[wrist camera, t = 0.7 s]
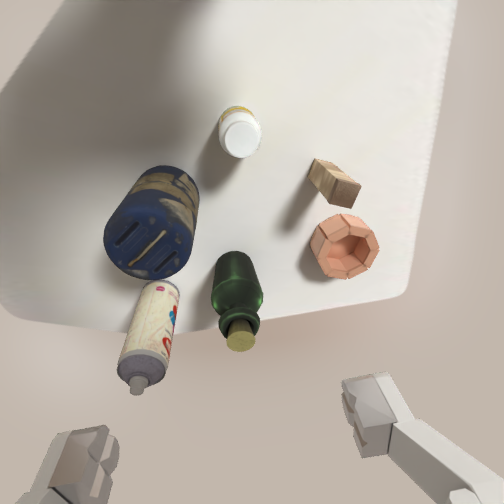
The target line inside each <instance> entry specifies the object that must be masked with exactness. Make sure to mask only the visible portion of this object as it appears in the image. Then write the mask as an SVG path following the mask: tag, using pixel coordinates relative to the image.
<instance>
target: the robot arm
mask: <svg viewBox="0 0 504 504" xmlns="http://www.w3.org/2000/svg"><path fill="white" fill-rule="evenodd" d="M342 388H343V391H344V392H343V393H342V403H343V408H344V411H345V415H346V418H347V420H348V423H349V424H350V425H352V426H353V427H354V436H353V437H354V439H355V442H356V445H357V447H358V450H359V452H360V455H361V457H362V458H366V457H372V456H379V455H385V454H388V456H389V457H390V458H391V459H392V460H393V461H394V462H395V463H396V464H397V465H398V466H399V467H400V468H401V469H402V470H403V471H404V472H405V473H406V474H407V475H408V476H409V477H410V478H411V479H412V480H413V481H415V483H416V484H417V485H418V486H419V487H420V488H421V489H422V490H423V491H424V492H425V493H426V494H427V495H428V496H429V497H430V498H431V499H433V500H434V501H435V502H436V503H437V504H504V479H503V478H501V477H500V476H498V475H497V474H496V473H494V472H493V471H491V470H490V469H489V468H487V467H486V466H485V465H483V464H482V463H480V462H479V461H478V460H476V459H475V458H474V457H472V456H471V455H469V454H468V453H467V452H465V451H464V450H462V449H461V448H459V447H458V446H457V445H455V444H454V443H453V442H451V441H450V440H449V439H447V438H446V437H444V436H443V435H442V434H440V433H439V432H437V431H436V430H435V429H433V428H432V427H430V426H429V425H428V424H426V423H425V422H424V421H422V420H421V419H415V418H414V417H413V415H412V413H411V411H410V410H409V408H408V406H407V404H406V403H405V401H404V399H403V397H402V396H401V394H400V392H399V390H398V389H397V387H396V385H395V383H394V382H393V380H392V379H391V376H390V375H389V374H388V373H387V372H380V373H375V374H369V375H364V376H359V377H354V378H349V379H345V380H342ZM108 433H109V429H108V428H107V426H106V425H102V426H97V427H91V428H85V429H80V430H73V431H68V432H63V433H58V434H57V435H56V436H55V438H54V439H53V441H52V443H51V445H50V447H49V449H48V452H47V454H46V456H45V458H44V460H43V463H42V465H41V467H40V470H39V472H38V474H37V476H36V479H35V481H34V483H33V485H32V487H31V489H30V492H27V493H24V495H22V497H21V498H20V499H19V500H18V501H17V502H16V503H15V504H107V502H108V499H109V495H110V491H111V487H112V483H113V482H112V479H111V476H110V474H111V473H112V472H113V471H114V469H115V468H116V467H117V462H118V459H119V444H118V441H117V439H116V438H115V437H114V436H111V435H109V434H108Z"/></svg>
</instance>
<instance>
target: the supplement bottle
mask: <svg viewBox="0 0 504 504" xmlns="http://www.w3.org/2000/svg"><path fill="white" fill-rule="evenodd" d="M261 140H262V131H261V127H260V124H259V123H258V121H257V119H256V118H255V117H254V115H253V114H252V113H251V112H250V111H249V110H248V109H246V108H245V107H241V106H233V107H230V108H228V109H227V110H226V111H224V113H223V114H222V115H221V117H220V120H219V141H220V144H221V146H222V148H223V149H224V150H225V151H226V152H227V153H228V154H229V155H231V156H233V157H237V158H247V157H249V156H251V155H252V154H253V153H254V152H255V151H256V150H257V149H258V148H259V146H260V143H261Z"/></svg>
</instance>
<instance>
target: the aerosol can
mask: <svg viewBox="0 0 504 504" xmlns="http://www.w3.org/2000/svg"><path fill="white" fill-rule="evenodd" d="M178 302H179V291H178V289H177V287H176V286H175V285H174V284H172V283H171V282H169V281H165V280H154V281H150V282H149V283H147V284H146V285H145V286H144V287H143V290H142V293H141V296H140V299H139V302H138V304H137V307H136V310H135V313H134V316H133V319H132V322H131V325H130V328H129V331H128V334H127V337H126V340H125V343H124V346H123V349H122V352H121V355H120V357H119V361H118V367H117V373H118V375H119V377H120V378H121V379H122V380H123V381H125V382H126V383H127V384H128V385H129V386H130V393H131V394H132V395H141V394H142V393H143V391H144V388H146V387H149V386H151V385H154V384H156V383H158V382H160V381H161V380H162V379H163V378H164V376H165V373H166V370H167V368H168V362H169V356H170V350H171V344H172V338H173V332H174V326H175V320H176V314H177V308H178Z"/></svg>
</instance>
